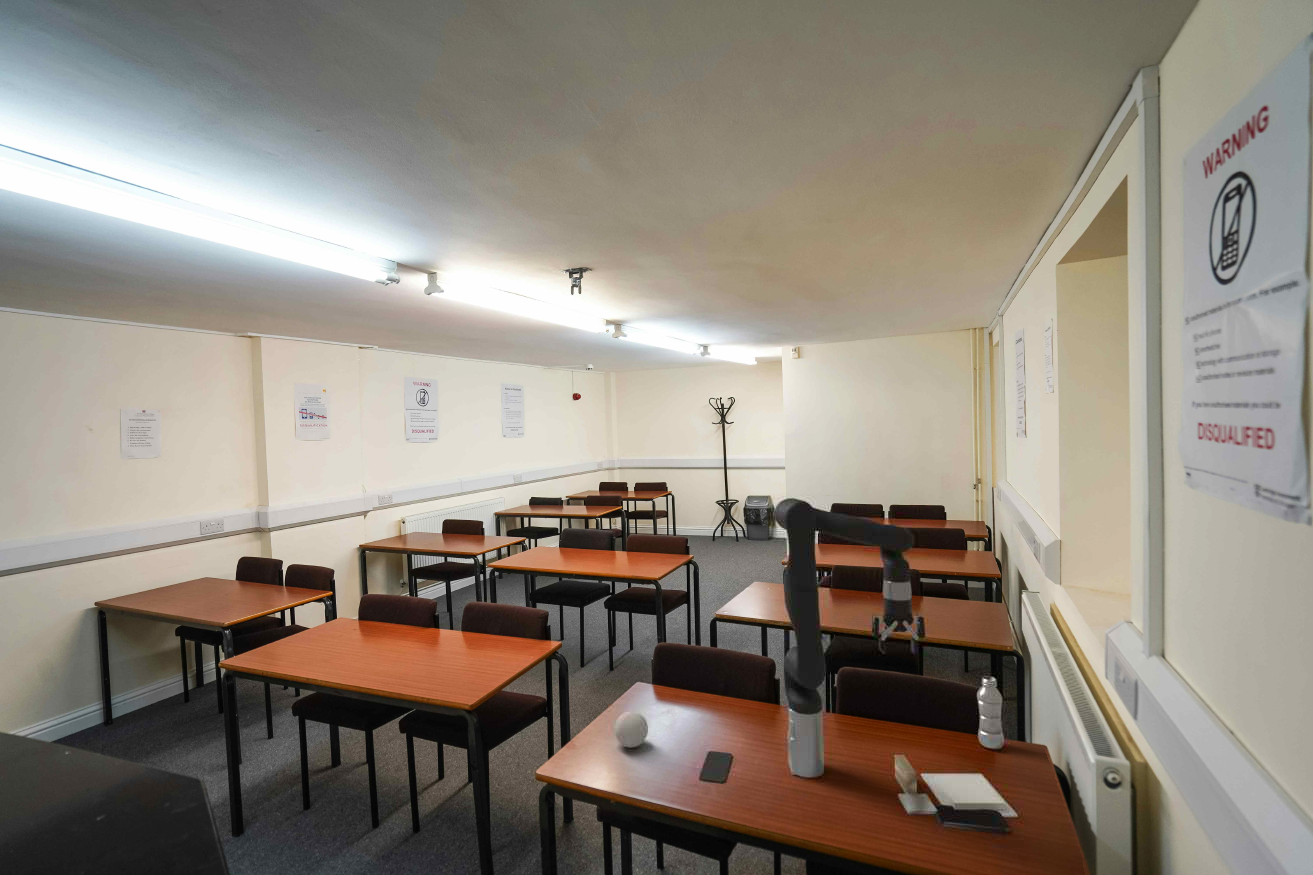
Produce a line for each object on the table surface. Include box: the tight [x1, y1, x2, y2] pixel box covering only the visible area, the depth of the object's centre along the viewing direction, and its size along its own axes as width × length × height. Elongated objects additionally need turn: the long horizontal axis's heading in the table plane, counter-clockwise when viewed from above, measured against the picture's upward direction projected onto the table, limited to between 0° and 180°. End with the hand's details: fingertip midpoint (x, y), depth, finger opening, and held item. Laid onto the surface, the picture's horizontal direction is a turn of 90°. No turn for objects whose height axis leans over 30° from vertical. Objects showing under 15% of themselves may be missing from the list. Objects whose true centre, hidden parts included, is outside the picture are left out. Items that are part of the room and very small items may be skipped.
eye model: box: [614, 710, 649, 749], centre depth 183 cm, size 10×10×10 cm
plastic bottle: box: [976, 675, 1005, 750], centre depth 177 cm, size 6×7×20 cm
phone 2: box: [933, 803, 1010, 835], centre depth 144 cm, size 8×1×15 cm
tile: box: [934, 775, 1005, 810], centre depth 153 cm, size 12×2×12 cm
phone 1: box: [698, 750, 733, 784], centre depth 170 cm, size 7×1×15 cm
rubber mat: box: [920, 773, 1019, 818], centre depth 154 cm, size 16×18×1 cm
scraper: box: [894, 754, 938, 815], centre depth 155 cm, size 7×16×6 cm, turn 177°
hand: (898, 652), depth 173 cm, fingers open, 8 cm apart
